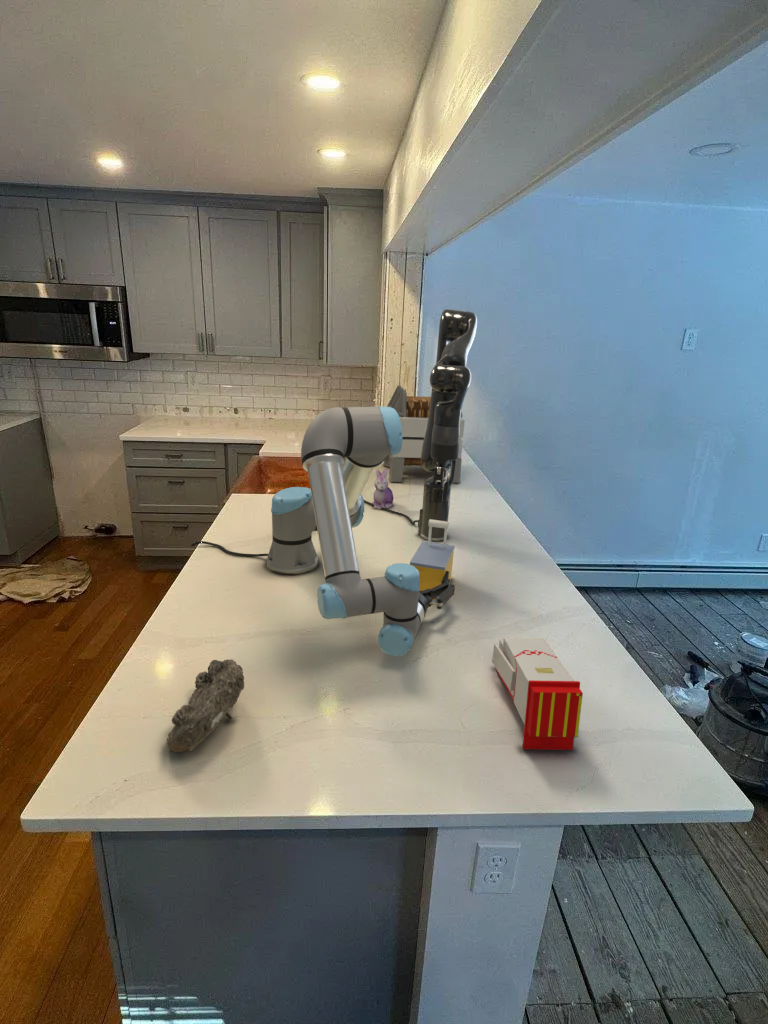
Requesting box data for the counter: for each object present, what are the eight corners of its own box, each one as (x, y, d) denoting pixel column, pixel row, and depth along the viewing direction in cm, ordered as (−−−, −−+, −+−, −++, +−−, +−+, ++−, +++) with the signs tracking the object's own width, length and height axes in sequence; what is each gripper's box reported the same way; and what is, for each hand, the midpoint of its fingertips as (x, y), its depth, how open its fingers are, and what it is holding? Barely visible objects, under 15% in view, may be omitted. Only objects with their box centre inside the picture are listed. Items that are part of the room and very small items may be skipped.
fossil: (192, 660, 117) (244, 628, 112) (224, 691, 120) (276, 661, 115) (142, 746, 98) (202, 712, 93) (182, 779, 101) (242, 748, 96)
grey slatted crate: (382, 463, 289) (386, 382, 275) (445, 464, 293) (451, 384, 279) (390, 482, 257) (394, 392, 243) (460, 483, 261) (468, 394, 247)
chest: (419, 573, 170) (421, 544, 167) (451, 579, 168) (453, 549, 165) (407, 596, 157) (409, 565, 154) (441, 602, 155) (444, 570, 151)
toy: (540, 621, 128) (592, 689, 99) (535, 675, 131) (584, 757, 102) (487, 620, 128) (523, 687, 98) (483, 674, 130) (517, 756, 101)
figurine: (377, 511, 221) (379, 474, 216) (366, 503, 229) (367, 467, 224) (399, 508, 225) (401, 471, 220) (387, 500, 233) (388, 465, 228)
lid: (422, 543, 168) (424, 515, 165) (454, 548, 166) (457, 520, 163) (409, 564, 154) (411, 534, 151) (444, 570, 151) (447, 539, 148)
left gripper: (365, 616, 140) (389, 578, 160) (454, 633, 135) (467, 591, 155) (366, 589, 138) (390, 554, 158) (456, 605, 132) (470, 566, 152)
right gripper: (454, 447, 146) (449, 507, 152) (463, 437, 159) (458, 492, 165) (426, 444, 148) (422, 503, 153) (437, 434, 161) (432, 488, 166)
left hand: (428, 572), depth 156 cm, fingers closed on chest, 10 cm apart
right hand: (440, 497), depth 159 cm, fingers open, 8 cm apart
